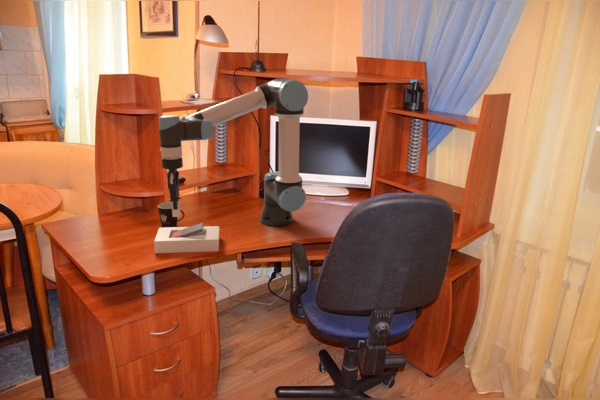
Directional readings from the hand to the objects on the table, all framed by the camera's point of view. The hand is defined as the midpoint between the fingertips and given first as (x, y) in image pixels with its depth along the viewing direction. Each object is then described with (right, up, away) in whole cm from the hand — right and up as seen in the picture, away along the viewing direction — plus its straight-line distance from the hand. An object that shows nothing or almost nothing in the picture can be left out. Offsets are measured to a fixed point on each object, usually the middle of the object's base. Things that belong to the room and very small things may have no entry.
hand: (176, 216), depth 173 cm
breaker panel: (+4, -12, +4) cm, 13 cm away
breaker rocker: (+4, -7, +3) cm, 8 cm away
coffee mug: (-8, -6, +21) cm, 23 cm away
